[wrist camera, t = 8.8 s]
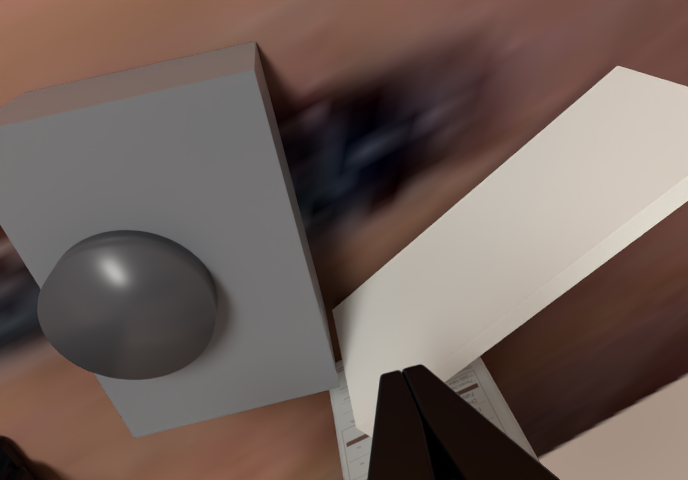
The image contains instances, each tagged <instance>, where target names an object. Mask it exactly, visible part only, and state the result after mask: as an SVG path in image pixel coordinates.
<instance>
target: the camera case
mask: <svg viewBox="0 0 688 480" xmlns="http://www.w3.org/2000/svg"><path fill="white" fill-rule="evenodd" d="M0 225H1V226H2V228H3V230H4V231H5V233H6V234H7V236H8V238H9V239H10V241H11V242H12V244H13V246H14V247H15V249H16V250H17V252H18V253H19V255H20V257H21V258H22V260H23V261H24V263H25V265H26V266H27V268H28V269H29V271H30V273H31V274H32V276H33V277H34V279H35V281H36V282H37V284H38V285H39V287H40V289H41V291H40V293H39V297H38V303H37V313H38V318H39V322H40V325H41V328H42V330H43V332H44V334H45V336H46V338H47V339H48V340H49V342H50V343H51V344H52V346H53V347H54V348H55V349H56V350H57V351H58V352H59V353H60V354H61V355H63V356H64V357H65V358H66V359H68V360H69V361H71V362H72V363H74V364H76V365H77V366H79V367H81V368H83V369H85V370H87V371H90V372H93V373H94V375H95V376H96V378H97V379H98V381H99V383H100V384H101V386H102V387H103V389H104V391H105V392H106V394H107V395H108V397H109V398H110V400H111V402H112V403H113V405H114V406H115V408H116V410H117V411H118V413H119V414H120V416H121V418H122V419H123V421H124V422H125V424H126V426H127V427H128V429H129V430H130V432H131V434H132V435H133V437H134V438H136V437H141V436H145V435H149V434H153V433H157V432H161V431H165V430H169V429H173V428H177V427H181V426H185V425H189V424H193V423H197V422H201V421H205V420H209V419H213V418H217V417H221V416H225V415H230V414H234V413H238V412H242V411H246V410H250V409H254V408H258V407H262V406H266V405H270V404H274V403H278V402H282V401H286V400H290V399H294V398H298V397H302V396H306V395H310V394H315V393H319V392H323V391H327V390H331V389H335V388H339V387H340V385H339V380H338V374H337V369H336V364H335V358H334V353H333V347H332V342H331V337H330V331H329V326H328V320H327V315H326V310H325V305H324V302H323V298H322V294H321V290H320V286H319V282H318V279H317V275H316V271H315V267H314V263H313V259H312V256H311V252H310V248H309V244H308V240H307V236H306V233H305V229H304V225H303V221H302V217H301V213H300V210H299V206H298V202H297V198H296V194H295V190H294V187H293V183H292V179H291V175H290V171H289V168H288V164H287V160H286V156H285V152H284V148H283V145H282V141H281V137H280V133H279V129H278V125H277V122H276V118H275V114H274V110H273V106H272V102H271V99H270V95H269V91H268V87H267V83H266V79H265V76H264V72H263V68H262V64H261V60H260V56H259V53H258V49H257V45H256V41H255V42H251V43H246V44H242V45H237V46H233V47H228V48H224V49H219V50H215V51H210V52H206V53H201V54H197V55H192V56H188V57H183V58H178V59H174V60H169V61H165V62H160V63H156V64H151V65H147V66H142V67H138V68H133V69H129V70H124V71H120V72H115V73H111V74H106V75H102V76H97V77H93V78H88V79H84V80H79V81H75V82H70V83H66V84H61V85H57V86H52V87H48V88H43V89H39V90H34V91H30V92H26V93H24V94H22V95H21V96H19V97H17V98H15V99H14V100H12V101H10V102H9V103H7V104H5V105H3V106H2V107H0Z"/></svg>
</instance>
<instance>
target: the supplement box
mask: <svg viewBox="0 0 688 480" xmlns="http://www.w3.org/2000/svg"><path fill="white" fill-rule="evenodd" d="M335 364H336V369H337V374H338V380H339V385H340V387H339V388H335V389H331V390H329V391H330V397H331V403H332V409H333V414H334V421H335V428H336V434H337V441H338V447H339V454H340V460H341V466H342V473H343V479H344V480H367V477H368V469H369V461H370V453H371V445H372V437H373V436H372V437H370V436H368V435H367V434H365V433H364V432H362V431H360V430H359V429H357V428H356V425H355V420H354V415H353V410H352V405H351V400H350V395H349V390H348V385H347V380H346V376H345V371H344V366H343V361H342V360H341V361H338V362H337V363H335ZM444 383H446V384H447V385H448V386H449V387H450V388H452V389H453V390H454V391H455V392H456V393H458V394H459V395H460V396H461V397H462V398H463V399H465V400H466V401H467V402H468V403H469V404H471V405H472V406H473V407H474V408H475V409H477V410H478V411H479V412H480V413H481V414H483V415H484V416H485V417H486V418H487V419H488V420H490V421H491V422H492V423H493V424H494V425H496V426H497V427H498V428H499V429H500V430H502V431H503V432H504V433H505V434H506V435H507V436H509V437H510V438H511V439H512V440H513V441H515V442H516V443H517V444H518V445H519V446H521V447H522V448H523V449H524V450H525V451H526V452H528V453H529V454H530V455H531V456H532V457H534V458H535V459H536V460H537V461H538V462H539V460H538V458H537V456H536V454H535V453H534V451H533V449H532V447H531V446H530V444H529V442H528V440H527V438H526V437H525V435H524V433H523V431H522V430H521V428H520V426H519V424H518V422H517V421H516V419H515V417H514V415H513V414H512V412H511V410H510V408H509V407H508V405H507V403H506V401H505V400H504V398H503V396H502V394H501V392H500V391H499V389H498V387H497V385H496V384H495V382H494V380H493V378H492V377H491V375H490V373H489V371H488V370H487V368H486V366H485V364H484V363H483V361H482V359H481V357H480V356H479V357H478V358H476V359H475V360H474V361H472V362H471V363H470V364H468V365H467V366H466V367H464V368H463V369H462V370H460V371H459V372H458V373H456V374H455V375H454V376H452V377H451V378H450V379H448V380H447V381H446V382H444Z"/></svg>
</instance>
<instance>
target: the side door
mask: <svg viewBox="0 0 688 480" xmlns="http://www.w3.org/2000/svg"><path fill="white" fill-rule="evenodd" d="M687 201H688V87H686V86H683V85H680V84H676V83H673V82H670V81H667V80H663V79H660V78H657V77H653V76H650V75H647V74H644V73H640V72H637V71H634V70H630V69H627V68H624V67H621V66H617V67H615V68H614V69H613V70H612V71H611V72H610V73H608V74H607V75H606V76H605V77H604V78H603V79H601V80H600V81H599V82H598V83H597V84H596V85H594V86H593V87H592V88H591V89H590V90H589V91H587V92H586V93H585V94H584V95H583V96H582V97H580V98H579V99H578V100H577V101H576V102H575V103H573V104H572V105H571V106H570V107H569V108H568V109H566V110H565V111H564V112H563V113H562V114H561V115H559V116H558V117H557V118H556V119H555V120H554V121H552V122H551V123H550V124H549V125H548V126H547V127H545V128H544V129H543V130H542V131H541V132H540V133H538V134H537V135H536V136H535V137H534V138H533V139H531V140H530V141H529V142H528V143H527V144H526V145H524V146H523V147H522V148H521V149H520V150H519V151H517V152H516V153H515V154H514V155H513V156H512V157H510V158H509V159H508V160H507V161H506V162H505V163H503V164H502V165H501V166H500V167H499V168H498V169H496V170H495V171H494V172H493V173H492V174H491V175H489V176H488V177H487V178H486V179H485V180H484V181H482V182H481V183H480V184H479V185H478V186H477V187H475V188H474V189H473V190H472V191H471V192H470V193H468V194H467V195H466V196H465V197H464V198H463V199H461V200H460V201H459V202H458V203H457V204H456V205H454V206H453V207H452V208H451V209H450V210H449V211H447V212H446V213H445V214H444V215H443V216H442V217H440V218H439V219H438V220H437V221H436V222H435V223H433V224H432V225H431V226H430V227H429V228H428V229H426V230H425V231H424V232H423V233H422V234H421V235H419V236H418V237H417V238H416V239H415V240H414V241H412V242H411V243H410V244H409V245H408V246H407V247H405V248H404V249H403V250H402V251H401V252H400V253H398V254H397V255H396V256H395V257H394V258H393V259H391V260H390V261H389V262H388V263H387V264H386V265H384V266H383V267H382V268H381V269H380V270H379V271H377V272H376V273H375V274H374V275H373V276H372V277H370V278H369V279H368V280H367V281H366V282H365V283H363V284H362V285H361V286H360V287H359V288H358V289H356V290H355V291H354V292H353V293H352V294H351V295H349V296H348V297H347V298H346V299H345V300H344V301H342V302H341V303H340V304H339V305H338V306H337V307H335V308H334V309H333V310H332V312H333V317H334V322H335V327H336V332H337V336H338V341H339V346H340V351H341V356H342V361H343V366H344V371H345V376H346V380H347V385H348V390H349V395H350V400H351V405H352V410H353V415H354V420H355V425H356V428H357V429H359V430H360V431H362V432H364V433H365V434H367V435H368V436H370V437H372V436H373V428H374V420H375V412H376V404H377V396H378V388H379V380H380V376H381V375H382V374H383V373H387V372H391V371H395V370H400V371H401V372H402V370H403V369H404V368H407V367H410V366H414V365H418V364H422V365H424V366H425V367H427V368H428V369H429V370H430V371H431V372H433V373H434V374H435V375H436V376H437V377H439V378H440V379H441V380H442V381H443V382H446V381H447V380H448V379H450V378H451V377H452V376H454V375H455V374H456V373H458V372H459V371H460V370H462V369H463V368H464V367H466V366H467V365H468V364H470V363H471V362H472V361H474V360H475V359H476V358H478V357H479V356H480V355H482V354H483V353H484V352H486V351H487V350H488V349H490V348H491V347H492V346H494V345H495V344H497V343H498V342H499V341H501V340H502V339H503V338H505V337H506V336H507V335H509V334H510V333H511V332H513V331H514V330H515V329H517V328H518V327H519V326H521V325H522V324H523V323H525V322H526V321H527V320H529V319H530V318H531V317H533V316H534V315H535V314H537V313H538V312H539V311H541V310H542V309H543V308H545V307H546V306H547V305H549V304H550V303H551V302H553V301H554V300H555V299H557V298H558V297H559V296H561V295H562V294H563V293H565V292H566V291H567V290H569V289H570V288H571V287H573V286H574V285H575V284H577V283H578V282H579V281H581V280H582V279H583V278H585V277H586V276H588V275H589V274H590V273H592V272H593V271H594V270H596V269H597V268H598V267H600V266H601V265H602V264H604V263H605V262H606V261H608V260H609V259H610V258H612V257H613V256H614V255H616V254H617V253H618V252H620V251H621V250H622V249H624V248H625V247H626V246H628V245H629V244H630V243H632V242H633V241H634V240H636V239H637V238H638V237H640V236H641V235H642V234H644V233H645V232H646V231H648V230H649V229H650V228H652V227H653V226H654V225H656V224H657V223H658V222H660V221H661V220H662V219H664V218H665V217H666V216H668V215H669V214H670V213H672V212H673V211H674V210H676V209H677V208H679V207H680V206H681V205H683V204H684V203H685V202H687Z"/></svg>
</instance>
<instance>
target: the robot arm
mask: <svg viewBox="0 0 688 480" xmlns="http://www.w3.org/2000/svg"><path fill="white" fill-rule="evenodd" d="M0 480H37V478H36V477H35V476H34V475H33V474H32V472H31V471H30V470H29V469H28V468H27V466H26V465H25V464H24V463H23V462H22V461H21V459H20V458H19V457H18V456H17V455H16V453H15V452H14V451H13V450H12V449H11V447H10V446H9V445H8V444H7V443H6V442H5V441H4V440H3V439H0ZM367 480H560V479H559V478H557V477H556V476H555V475H554V474H553V473H551V472H550V471H549V470H548V469H547V468H546V467H544V466H543V465H542V464H541V463H540V462H538V461H537V460H536V459H535V458H534V457H532V456H531V455H530V454H529V453H528V452H526V451H525V450H524V449H523V448H522V447H521V446H519V445H518V444H517V443H516V442H515V441H513V440H512V439H511V438H510V437H509V436H507V435H506V434H505V433H504V432H503V431H502V430H500V429H499V428H498V427H497V426H496V425H494V424H493V423H492V422H491V421H490V420H488V419H487V418H486V417H485V416H484V415H483V414H481V413H480V412H479V411H478V410H477V409H475V408H474V407H473V406H472V405H471V404H469V403H468V402H467V401H466V400H465V399H463V398H462V397H461V396H460V395H459V394H458V393H456V392H455V391H454V390H453V389H452V388H450V387H449V386H448V385H447V384H446V383H444V382H443V381H442V380H441V379H440V378H439V377H437V376H436V375H435V374H434V373H433V372H431V371H430V370H429V369H428V368H427V367H425V366H424V365H422V364H418V365H414V366H410V367H407V368H404V369H403V370H402V372H401V371H400V370H395V371H391V372H387V373H383V374H382V375H381V376H380V380H379V388H378V396H377V404H376V412H375V420H374V428H373V437H372V445H371V453H370V461H369V469H368V477H367Z"/></svg>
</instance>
